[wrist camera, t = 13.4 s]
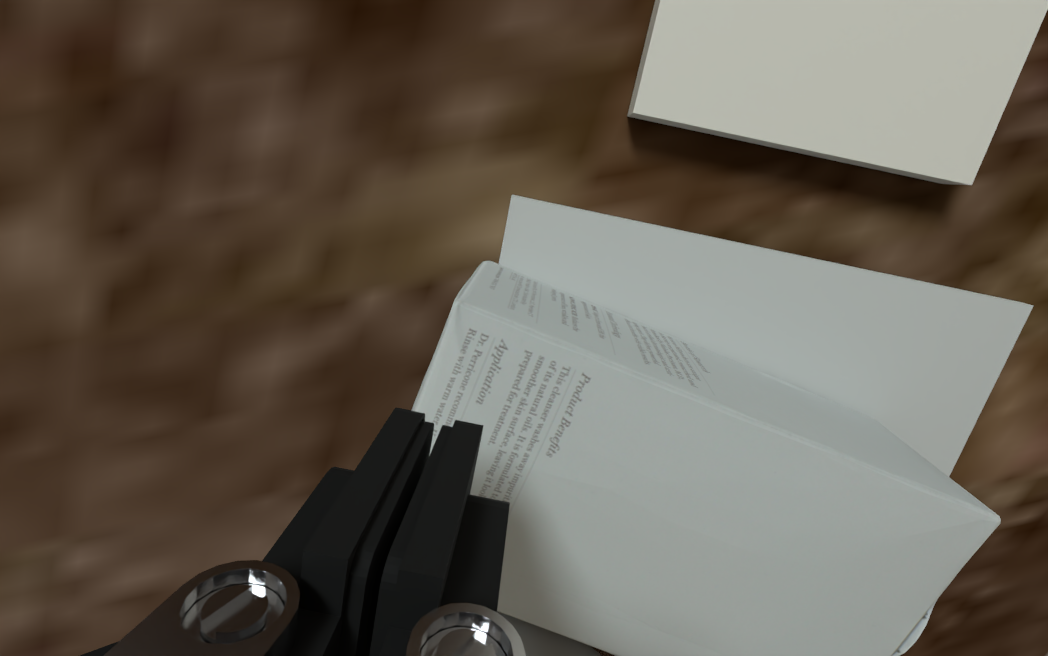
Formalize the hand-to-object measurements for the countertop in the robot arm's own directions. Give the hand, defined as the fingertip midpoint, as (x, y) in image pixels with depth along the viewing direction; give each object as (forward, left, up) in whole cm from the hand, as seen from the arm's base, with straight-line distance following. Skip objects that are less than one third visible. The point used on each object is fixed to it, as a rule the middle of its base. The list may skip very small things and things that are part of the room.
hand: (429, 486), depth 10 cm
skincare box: (-2, -1, -6) cm, 6 cm away
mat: (+8, 0, -9) cm, 12 cm away
